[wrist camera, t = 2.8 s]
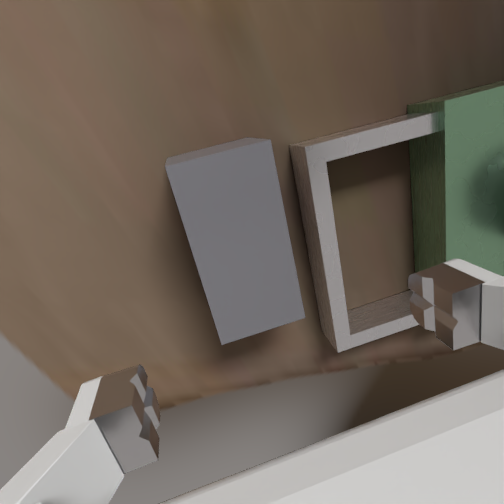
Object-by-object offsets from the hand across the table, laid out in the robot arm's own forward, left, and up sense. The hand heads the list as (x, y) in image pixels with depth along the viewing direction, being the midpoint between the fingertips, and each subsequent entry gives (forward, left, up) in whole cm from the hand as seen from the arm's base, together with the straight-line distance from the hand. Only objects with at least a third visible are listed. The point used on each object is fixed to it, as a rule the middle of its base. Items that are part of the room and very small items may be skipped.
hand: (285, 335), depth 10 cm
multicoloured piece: (+3, +14, -11) cm, 18 cm away
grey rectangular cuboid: (0, 0, -11) cm, 11 cm away
